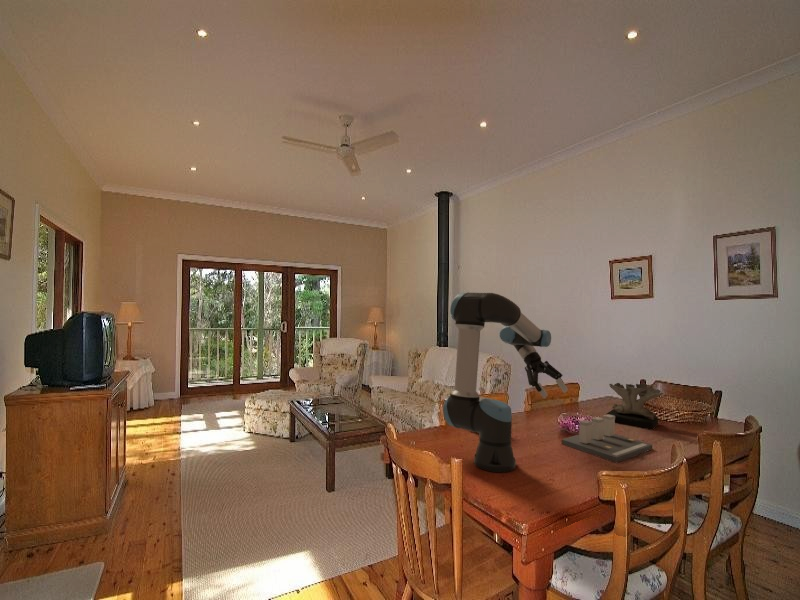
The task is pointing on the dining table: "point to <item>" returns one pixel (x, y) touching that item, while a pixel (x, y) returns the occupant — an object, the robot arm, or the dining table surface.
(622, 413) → the coral
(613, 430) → the far lever
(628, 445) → the switch panel
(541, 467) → the dining table surface
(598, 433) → the middle lever
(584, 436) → the near lever
